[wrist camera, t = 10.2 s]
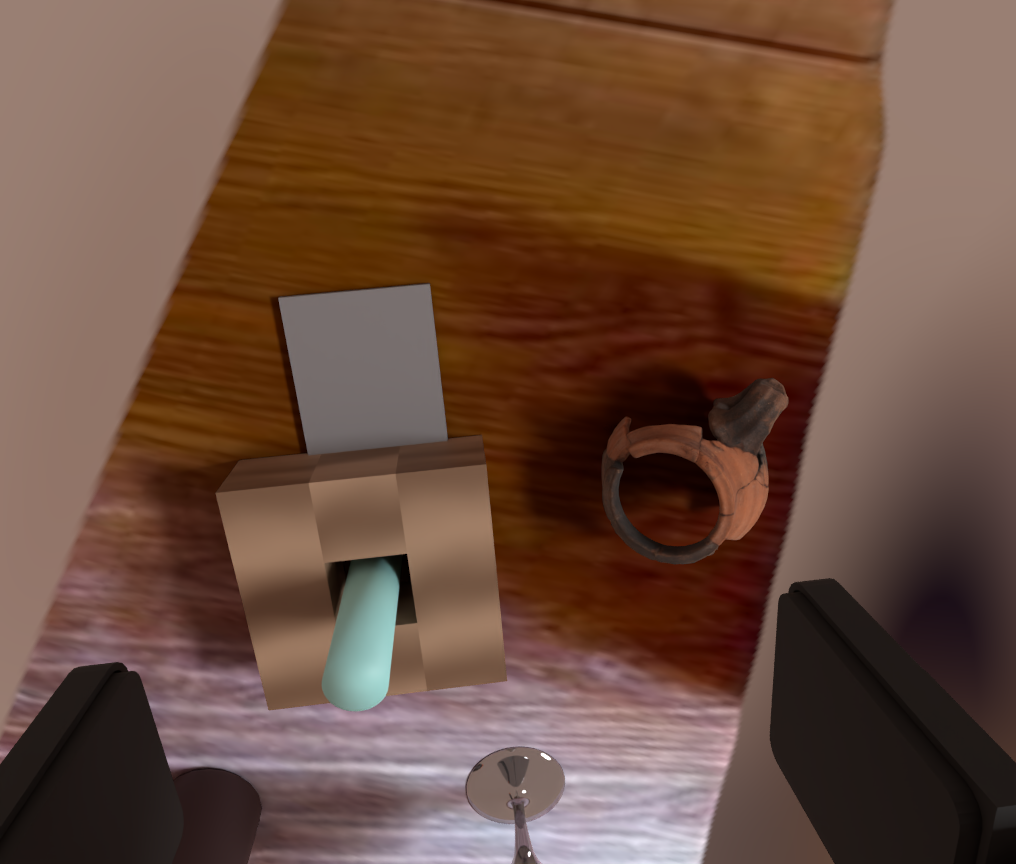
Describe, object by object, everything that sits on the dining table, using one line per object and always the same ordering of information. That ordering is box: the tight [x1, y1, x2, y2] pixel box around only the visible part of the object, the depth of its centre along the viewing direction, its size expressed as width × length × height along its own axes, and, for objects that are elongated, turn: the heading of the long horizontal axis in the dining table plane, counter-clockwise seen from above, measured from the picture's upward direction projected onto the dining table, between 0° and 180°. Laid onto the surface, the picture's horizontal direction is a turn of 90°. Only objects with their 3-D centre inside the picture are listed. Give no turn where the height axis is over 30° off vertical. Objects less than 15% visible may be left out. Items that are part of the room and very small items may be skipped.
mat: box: [278, 283, 448, 455], centre depth 39 cm, size 10×8×1 cm
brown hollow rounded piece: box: [602, 378, 788, 564], centre depth 40 cm, size 12×10×8 cm
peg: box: [322, 554, 403, 711], centre depth 38 cm, size 3×3×12 cm
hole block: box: [216, 435, 507, 710], centre depth 41 cm, size 14×14×4 cm
